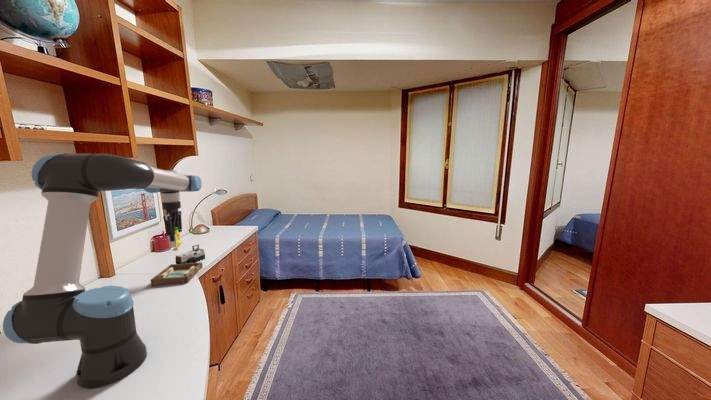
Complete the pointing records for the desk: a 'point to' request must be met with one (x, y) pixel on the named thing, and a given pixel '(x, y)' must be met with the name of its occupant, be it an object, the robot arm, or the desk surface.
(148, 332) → the desk surface
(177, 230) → the toy figure
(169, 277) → the walled box
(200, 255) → the camera
